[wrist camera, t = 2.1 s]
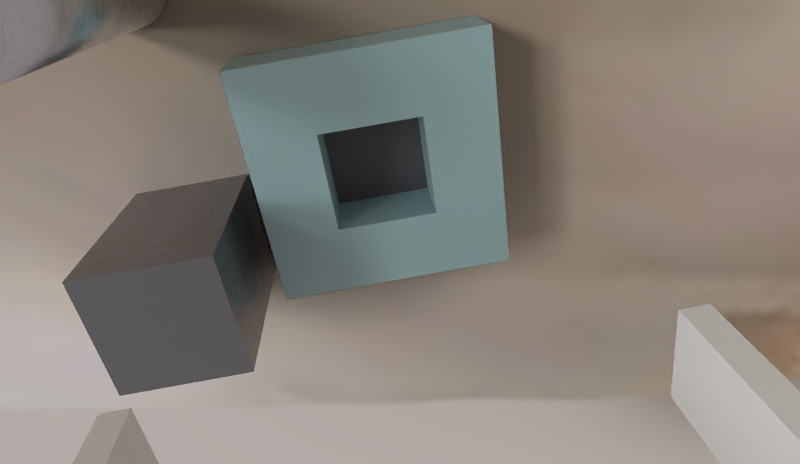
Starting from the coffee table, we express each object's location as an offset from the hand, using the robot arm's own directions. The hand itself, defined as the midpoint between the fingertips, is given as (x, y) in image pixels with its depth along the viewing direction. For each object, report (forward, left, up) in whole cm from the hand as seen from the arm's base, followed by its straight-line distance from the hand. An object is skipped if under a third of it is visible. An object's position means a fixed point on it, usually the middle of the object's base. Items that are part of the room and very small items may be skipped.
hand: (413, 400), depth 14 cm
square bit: (-10, -3, -19) cm, 22 cm away
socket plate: (0, 0, -19) cm, 19 cm away
